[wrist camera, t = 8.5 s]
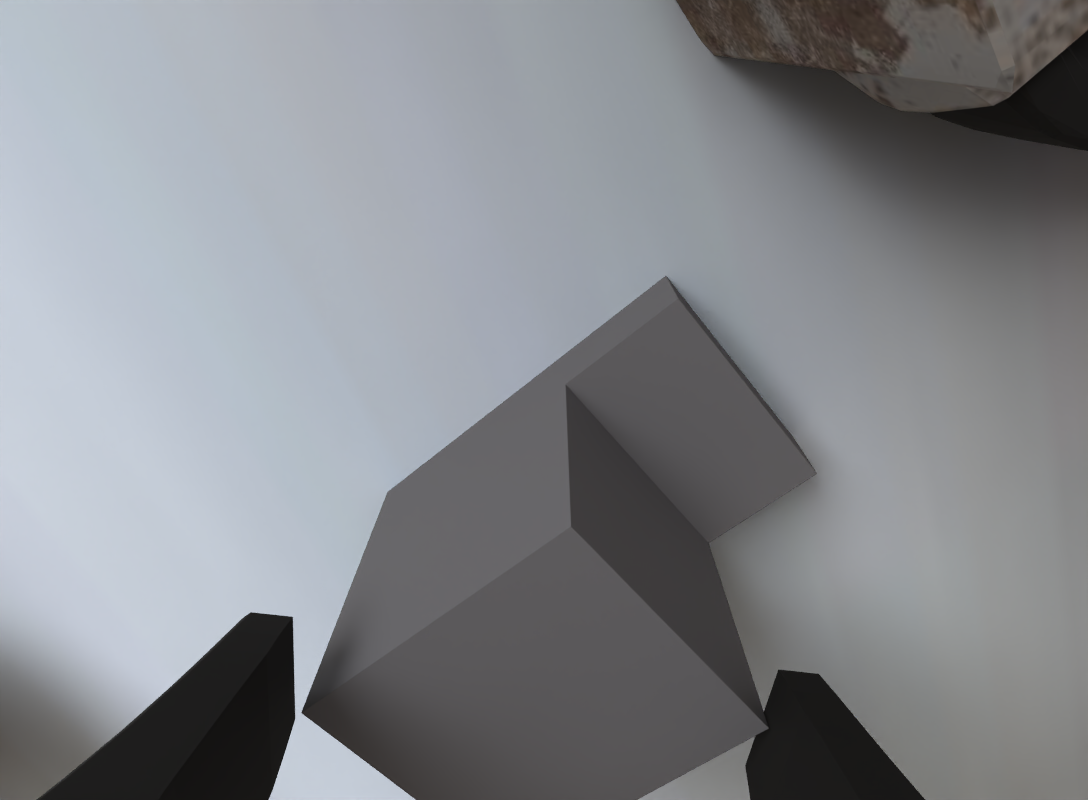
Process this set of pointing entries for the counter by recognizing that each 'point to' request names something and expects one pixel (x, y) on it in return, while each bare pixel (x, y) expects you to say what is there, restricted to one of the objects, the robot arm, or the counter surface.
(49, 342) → the counter surface
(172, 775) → the robot arm
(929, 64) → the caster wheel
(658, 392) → the stepped grey block
